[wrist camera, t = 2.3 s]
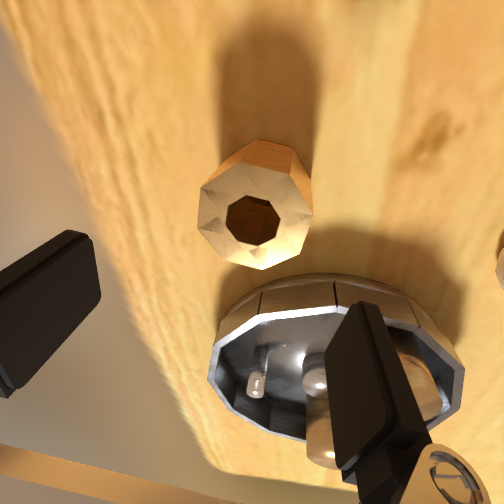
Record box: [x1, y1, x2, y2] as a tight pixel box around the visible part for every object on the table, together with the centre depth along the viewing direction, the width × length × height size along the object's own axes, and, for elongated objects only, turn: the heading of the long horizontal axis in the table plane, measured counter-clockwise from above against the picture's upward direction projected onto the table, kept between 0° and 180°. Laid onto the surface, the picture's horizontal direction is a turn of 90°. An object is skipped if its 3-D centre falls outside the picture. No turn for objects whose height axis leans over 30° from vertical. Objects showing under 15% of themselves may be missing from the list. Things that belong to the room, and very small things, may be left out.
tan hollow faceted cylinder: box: [197, 139, 313, 270], centre depth 15 cm, size 5×5×5 cm
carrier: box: [207, 273, 465, 470], centre depth 23 cm, size 20×20×6 cm
